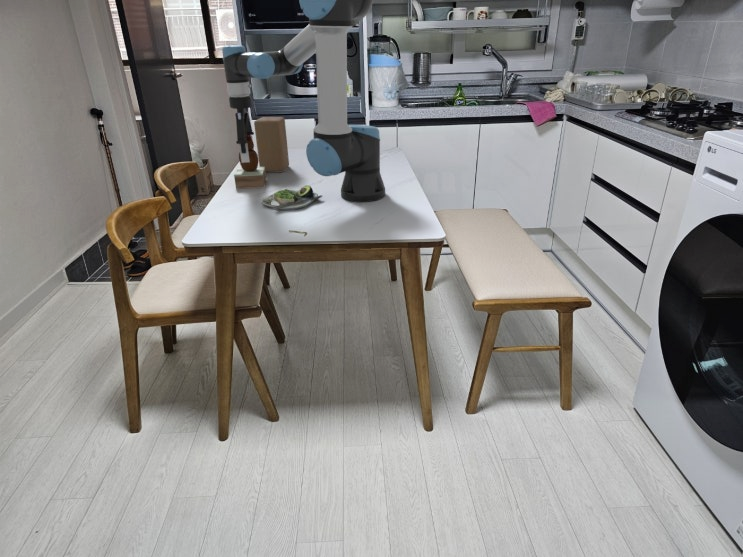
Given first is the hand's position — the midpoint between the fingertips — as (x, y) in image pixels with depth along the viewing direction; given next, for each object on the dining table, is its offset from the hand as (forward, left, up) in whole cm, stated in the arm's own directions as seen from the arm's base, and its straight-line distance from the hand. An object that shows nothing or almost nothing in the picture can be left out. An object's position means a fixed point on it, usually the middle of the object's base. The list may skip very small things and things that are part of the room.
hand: (248, 157), depth 175 cm
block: (+20, -7, -10) cm, 23 cm away
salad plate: (-23, -16, -10) cm, 30 cm away
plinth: (0, 0, -10) cm, 10 cm away
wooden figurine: (0, 0, -5) cm, 5 cm away
